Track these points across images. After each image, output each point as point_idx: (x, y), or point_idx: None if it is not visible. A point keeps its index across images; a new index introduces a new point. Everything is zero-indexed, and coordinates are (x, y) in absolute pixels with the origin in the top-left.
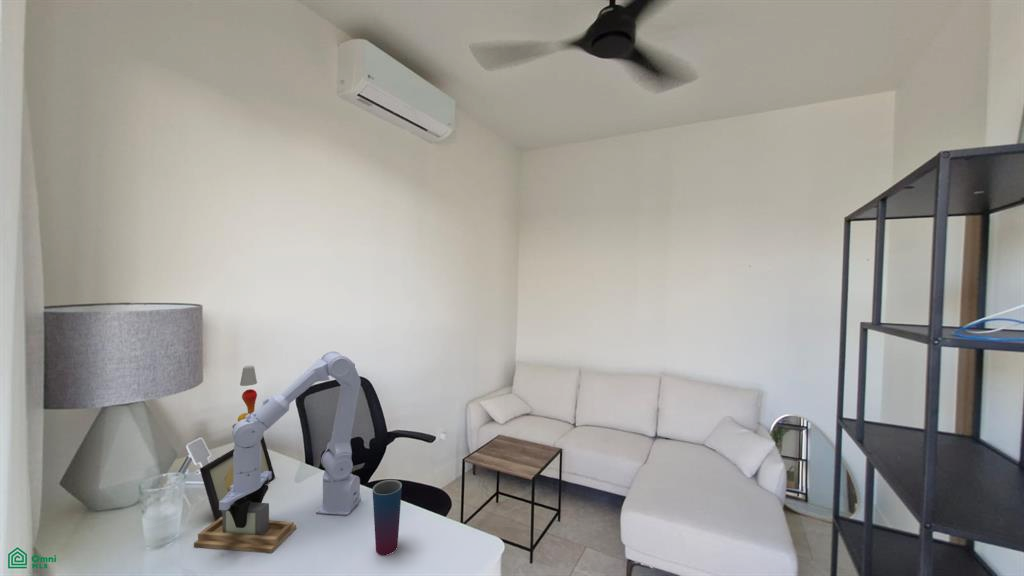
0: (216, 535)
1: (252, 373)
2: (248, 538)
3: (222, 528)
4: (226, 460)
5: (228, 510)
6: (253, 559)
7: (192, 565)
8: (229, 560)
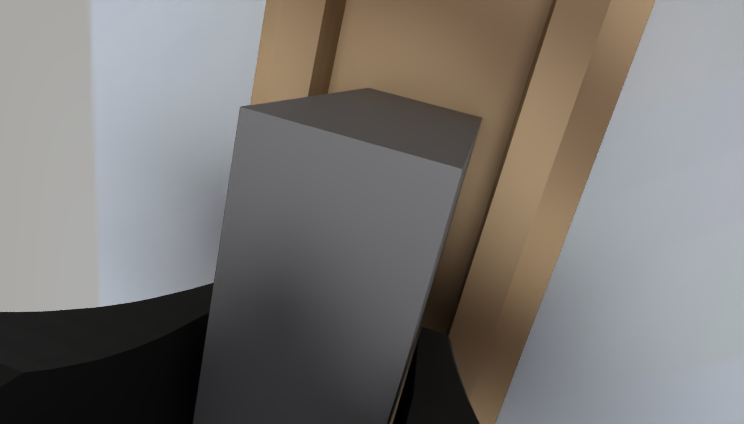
0: (272, 80)
1: None
2: None
3: (348, 91)
4: None
5: (40, 314)
6: None
7: (108, 33)
8: (152, 259)
